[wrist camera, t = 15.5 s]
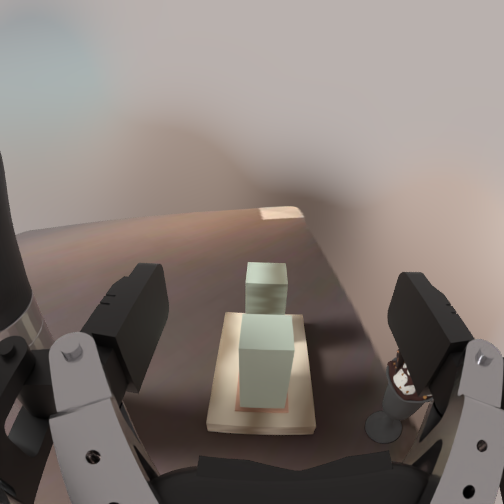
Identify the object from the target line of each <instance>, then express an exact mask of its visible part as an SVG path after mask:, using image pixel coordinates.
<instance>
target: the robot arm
mask: <svg viewBox="0 0 504 504" xmlns="http://www.w3.org/2000/svg"><path fill="white" fill-rule="evenodd" d="M168 313H169V302H168V296H167V290H166V284H165V278H164V271H163V267H162V265H161V264H153V263H138V264H137V266H136V267H135V268H134V270H133V271H132V273H131V274H130V275H129V277H125V276H124V277H123V278H122V279H120V280H119V281H117V282H116V283H114V284H113V285H112V286H111V288H110V289H109V291H108V292H107V293H106V296H104V298H103V299H102V300H101V302H100V304H99V305H98V306H97V307H96V309H95V310H94V312H93V313H92V315H91V316H90V318H89V319H88V321H87V322H86V324H85V325H84V326H83V328H82V329H81V331H80V332H73V333H69V334H66V335H64V336H62V337H60V338H59V339H58V340H56V341H54V339H53V337H52V335H51V333H50V331H49V329H48V327H47V324H46V322H45V320H44V318H43V316H42V313H41V311H40V309H39V306H38V304H37V302H36V299H35V297H34V294H33V292H32V289H31V286H30V284H29V281H28V278H27V275H26V272H25V269H24V265H23V261H22V258H21V254H20V251H19V247H18V244H17V240H16V236H15V232H14V228H13V223H12V219H11V213H10V207H9V201H8V194H7V186H6V180H5V172H4V166H3V161H2V156H1V153H0V504H34V500H35V497H36V493H37V490H38V486H39V483H40V480H41V477H42V474H43V471H44V467H45V464H46V462H47V459H48V456H49V453H50V450H51V447H52V445H53V443H54V447H55V451H56V455H57V459H58V463H59V466H60V470H61V473H62V477H63V480H64V483H65V486H66V489H67V492H68V495H69V498H70V501H71V503H72V504H494V502H495V499H496V496H497V492H498V488H499V487H500V491H501V496H502V500H503V504H504V357H502V355H501V353H500V351H499V350H498V349H497V348H496V347H495V346H494V345H493V344H492V343H490V342H488V341H485V340H482V339H474V338H473V336H472V334H471V333H470V331H469V330H468V328H467V327H466V325H465V324H464V322H463V321H462V319H461V318H460V316H459V315H458V314H456V311H455V309H454V308H453V306H451V304H450V302H449V301H448V300H447V298H446V297H445V295H444V294H443V293H441V292H440V291H439V290H437V289H436V288H435V287H433V286H432V285H431V283H430V282H429V281H428V279H427V278H426V277H425V275H424V274H423V273H421V272H402V273H401V274H400V275H399V277H398V280H397V283H396V286H395V290H394V293H393V296H392V300H391V303H390V306H389V309H388V324H389V327H390V329H391V331H392V334H393V336H394V338H395V341H396V343H397V345H398V348H399V350H400V352H401V355H402V357H403V359H404V362H405V364H406V367H407V369H408V372H409V374H410V377H411V379H412V382H413V384H414V387H415V390H416V392H417V395H418V397H421V396H426V395H432V397H433V400H432V401H431V402H430V404H429V406H428V409H427V411H426V415H425V417H424V420H423V422H422V425H421V427H420V430H419V432H418V434H417V437H416V439H415V442H414V444H413V446H412V448H411V450H410V452H409V453H408V455H407V456H406V457H405V459H404V460H403V461H402V463H400V462H394V461H391V458H390V454H389V450H388V451H383V452H377V453H371V454H364V455H357V456H349V457H345V458H342V459H339V460H336V461H333V462H330V463H327V464H323V465H320V466H317V467H313V468H310V469H306V470H302V471H294V470H288V469H284V468H279V467H274V466H270V465H266V464H262V463H258V462H254V461H250V460H240V459H226V458H215V457H206V456H199V461H198V466H195V467H187V468H182V469H178V470H174V471H171V472H168V473H165V474H163V475H160V474H159V472H158V470H157V468H156V467H155V465H154V463H153V462H152V460H151V459H150V457H149V455H148V453H147V452H146V450H145V448H144V446H143V444H142V442H141V440H140V438H139V436H138V434H137V431H136V429H135V427H134V425H133V423H132V420H131V418H130V416H129V414H128V411H127V409H126V407H125V404H124V402H123V400H122V399H123V397H124V394H125V392H126V391H128V392H133V393H139V391H140V388H141V385H142V382H143V380H144V377H145V374H146V372H147V369H148V367H149V364H150V361H151V359H152V356H153V354H154V351H155V349H156V346H157V344H158V341H159V339H160V336H161V334H162V331H163V329H164V326H165V324H166V321H167V318H168ZM14 403H15V404H16V405H17V407H18V408H19V409H20V411H19V414H18V416H17V418H16V420H15V422H14V424H13V426H12V429H11V431H10V433H9V435H8V437H7V435H6V433H5V429H4V425H5V421H6V418H7V416H8V414H9V412H10V410H11V408H12V406H13V404H14Z"/></svg>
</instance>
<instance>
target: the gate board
mask: <svg viewBox="0 0 504 504" xmlns="http://www.w3.org/2000/svg"><path fill="white" fill-rule="evenodd" d="M287 287H288V282H287V272H286V263H256V262H248V267H247V276H246V313H230V312H226V314H225V319H224V325H223V330H222V336H221V341H220V347H219V352H218V358H217V363H216V369H215V375H214V380H213V386H212V392H211V398H210V403H209V409H208V415H207V421H206V425H207V429H208V431H213V432H224V433H238V434H259V435H304V434H313V433H314V430H315V428H316V421H315V412H314V402H313V393H312V385H311V376H310V368H309V360H308V352H307V344H306V337H305V329H304V322H303V315H292V325H293V336H294V348H295V352H294V358H293V364H292V370H291V375H290V381H289V387H288V392H287V398H286V403H285V408H249V407H240V387H239V340H240V332H241V323H242V314H265V315H285V307H286V297H287Z"/></svg>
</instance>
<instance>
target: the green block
mask: <svg viewBox="0 0 504 504" xmlns="http://www.w3.org/2000/svg"><path fill="white" fill-rule="evenodd" d="M294 352H295V348H294V336H293V325H292V315H265V314H242V323H241V332H240V340H239V387H240V407H249V408H285V403H286V398H287V392H288V387H289V381H290V375H291V370H292V364H293V358H294Z"/></svg>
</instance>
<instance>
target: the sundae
mask: <svg viewBox="0 0 504 504" xmlns="http://www.w3.org/2000/svg"><path fill="white" fill-rule="evenodd" d="M387 365H388V366H387V369H386V375H387V379H388V386H387V389H386V391H385V394H384V398H383V403H382V407H383V411H378V412H375V413H373V414H371V415H370V416H369V417H368V419H367V421H366V424H365V429H366V432H367V434H368V436H369V437H370V438H371V439H372V440H374V441H376V442H378V443H390V442H393V441H395V440H396V439H397V438H398V437H399V436H400V434H401V431H402V425H401V422H400V420H404V419H407V418H408V417H410V416H411V415H412V414H414V413H415V412H416V411H417V410H418V409H419V408H420V407H421V406H422V405H423V404H424V403H425V402H430V401H432V400H433V397H432V395H426V396H421V397H418V395H417V392H416V390H415V387H414V384H413V382H412V379H411V377H410V374H409V372H408V369H407V367H406V364H405V362H404V359H403V357H402V355H401V352H400V350H399V349H398V351H397V357H396V358H394V359H393V360H392V361H390V362H388V364H387Z"/></svg>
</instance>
